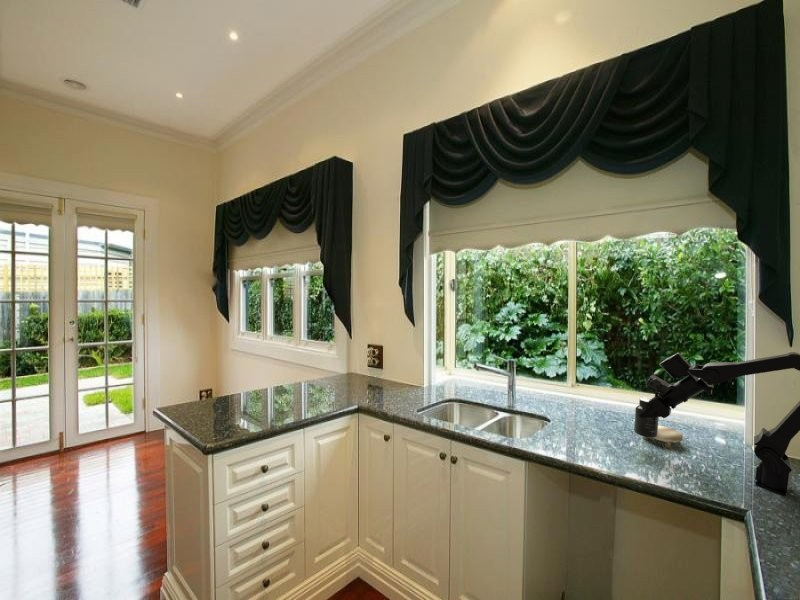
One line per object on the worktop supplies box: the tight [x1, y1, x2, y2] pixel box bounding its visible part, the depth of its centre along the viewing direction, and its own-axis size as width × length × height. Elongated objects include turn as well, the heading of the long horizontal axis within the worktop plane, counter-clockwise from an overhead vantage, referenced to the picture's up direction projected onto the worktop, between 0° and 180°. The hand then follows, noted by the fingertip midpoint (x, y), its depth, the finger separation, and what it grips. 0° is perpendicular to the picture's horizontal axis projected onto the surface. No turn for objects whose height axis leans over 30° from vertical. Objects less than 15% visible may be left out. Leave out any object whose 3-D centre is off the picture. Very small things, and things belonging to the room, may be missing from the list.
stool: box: [642, 424, 684, 449], centre depth 138 cm, size 12×12×4 cm
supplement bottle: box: [633, 397, 660, 439], centre depth 131 cm, size 7×7×12 cm
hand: (642, 413), depth 132 cm, fingers closed on supplement bottle, 7 cm apart
